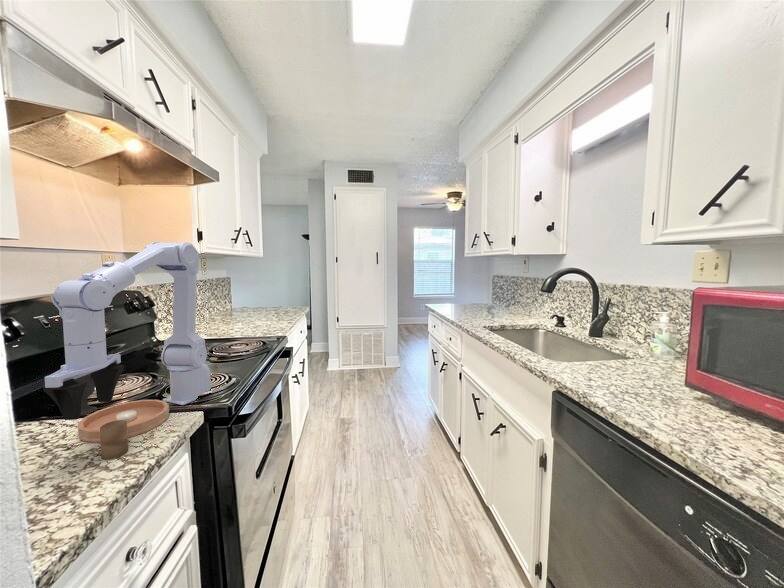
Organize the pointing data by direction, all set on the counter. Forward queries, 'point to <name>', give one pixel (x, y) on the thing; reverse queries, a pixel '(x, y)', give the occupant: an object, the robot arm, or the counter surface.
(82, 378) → the sundae
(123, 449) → the brown cylinder
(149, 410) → the groove tray
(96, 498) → the counter surface
